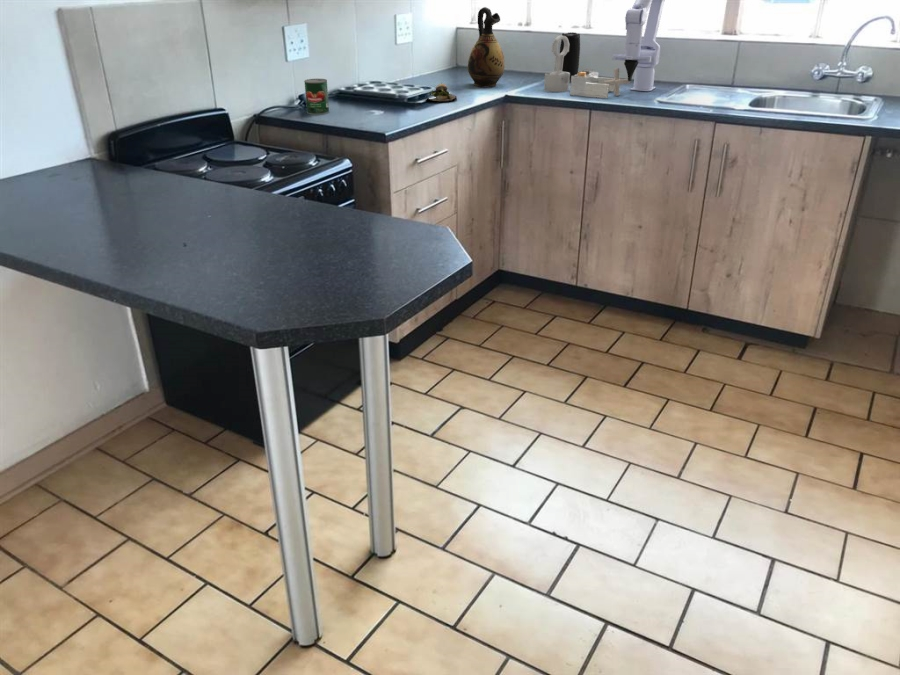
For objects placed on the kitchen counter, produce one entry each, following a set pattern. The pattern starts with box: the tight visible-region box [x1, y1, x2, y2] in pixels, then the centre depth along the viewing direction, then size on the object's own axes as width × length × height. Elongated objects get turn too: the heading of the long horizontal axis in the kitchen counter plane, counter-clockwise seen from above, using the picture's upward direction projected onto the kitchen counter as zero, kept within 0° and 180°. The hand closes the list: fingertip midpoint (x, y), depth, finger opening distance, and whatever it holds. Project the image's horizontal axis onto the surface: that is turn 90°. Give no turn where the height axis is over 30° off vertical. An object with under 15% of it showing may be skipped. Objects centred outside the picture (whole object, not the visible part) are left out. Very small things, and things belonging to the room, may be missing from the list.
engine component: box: [543, 34, 571, 93], centre depth 299 cm, size 11×20×10 cm
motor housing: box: [569, 68, 621, 99], centre depth 294 cm, size 16×15×8 cm
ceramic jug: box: [467, 6, 506, 88], centre depth 307 cm, size 17×15×30 cm
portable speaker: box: [559, 32, 581, 81], centre depth 319 cm, size 8×9×19 cm
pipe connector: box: [604, 67, 631, 97], centre depth 289 cm, size 10×10×10 cm
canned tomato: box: [303, 78, 330, 116], centre depth 263 cm, size 8×8×11 cm
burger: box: [427, 83, 458, 102], centre depth 283 cm, size 12×12×8 cm
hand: (629, 80), depth 287 cm, fingers closed, pressing on pipe connector
